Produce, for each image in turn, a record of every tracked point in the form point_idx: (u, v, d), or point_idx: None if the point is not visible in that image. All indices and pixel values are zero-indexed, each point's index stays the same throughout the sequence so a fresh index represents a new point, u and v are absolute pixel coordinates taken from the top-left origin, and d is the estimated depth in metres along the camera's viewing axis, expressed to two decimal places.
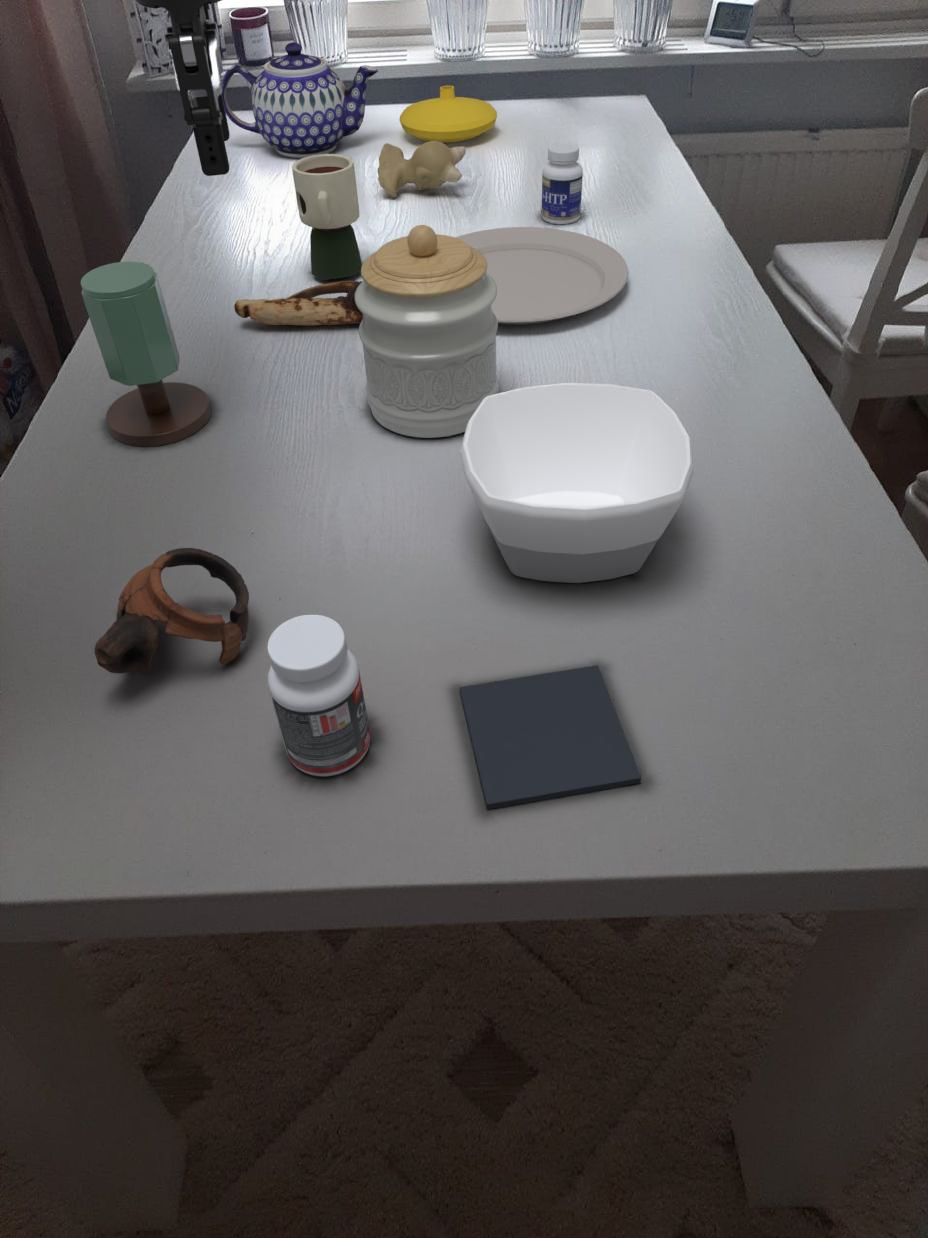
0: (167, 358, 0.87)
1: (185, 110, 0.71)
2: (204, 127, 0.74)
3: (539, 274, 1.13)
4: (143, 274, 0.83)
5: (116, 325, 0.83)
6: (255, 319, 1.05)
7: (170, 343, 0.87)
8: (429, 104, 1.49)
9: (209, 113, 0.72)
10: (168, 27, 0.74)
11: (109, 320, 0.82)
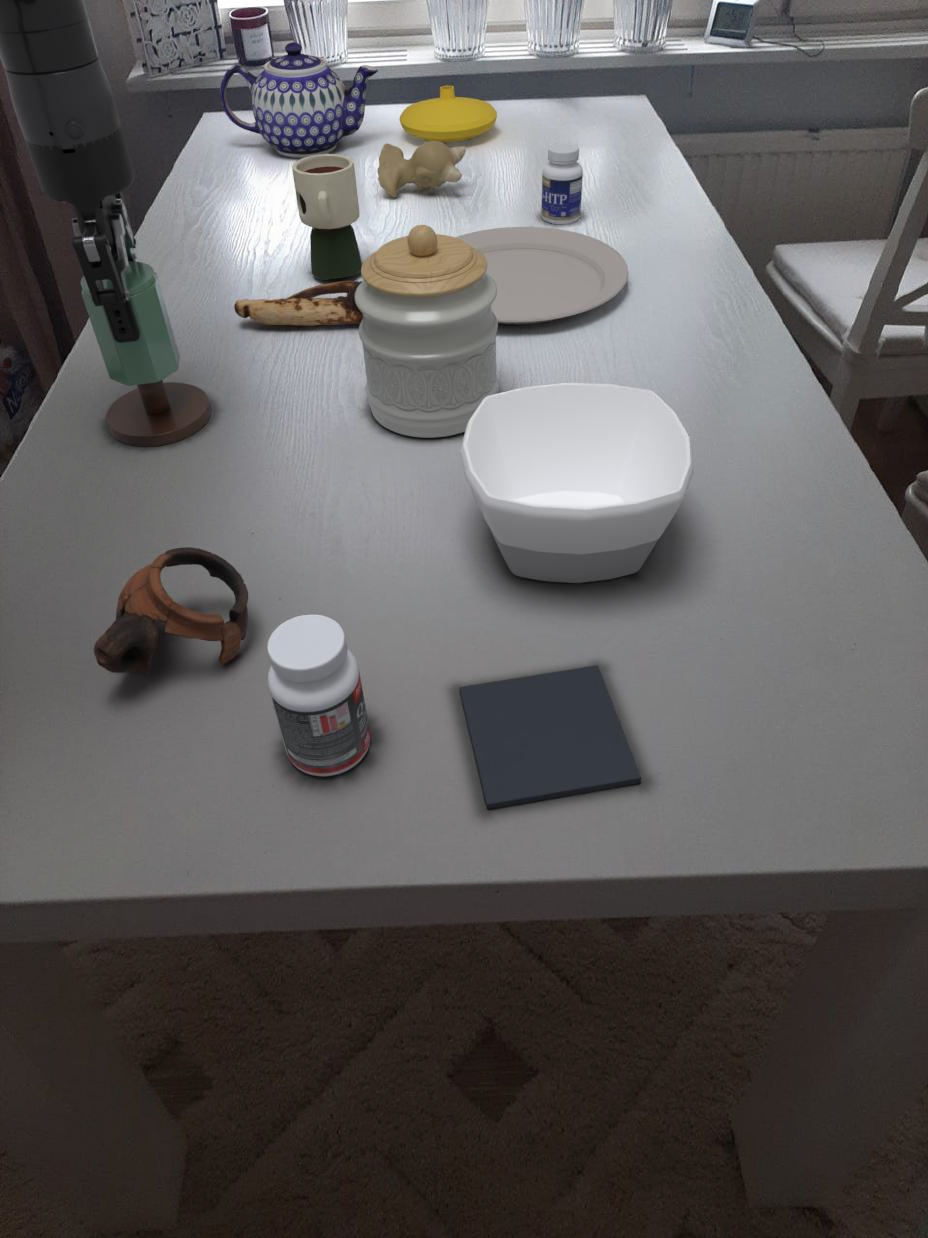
0: (167, 358, 0.87)
1: (92, 296, 0.78)
2: (112, 304, 0.80)
3: (539, 274, 1.13)
4: (143, 274, 0.83)
5: None
6: (255, 319, 1.05)
7: (170, 343, 0.87)
8: (429, 104, 1.49)
9: (115, 296, 0.78)
10: None
11: None
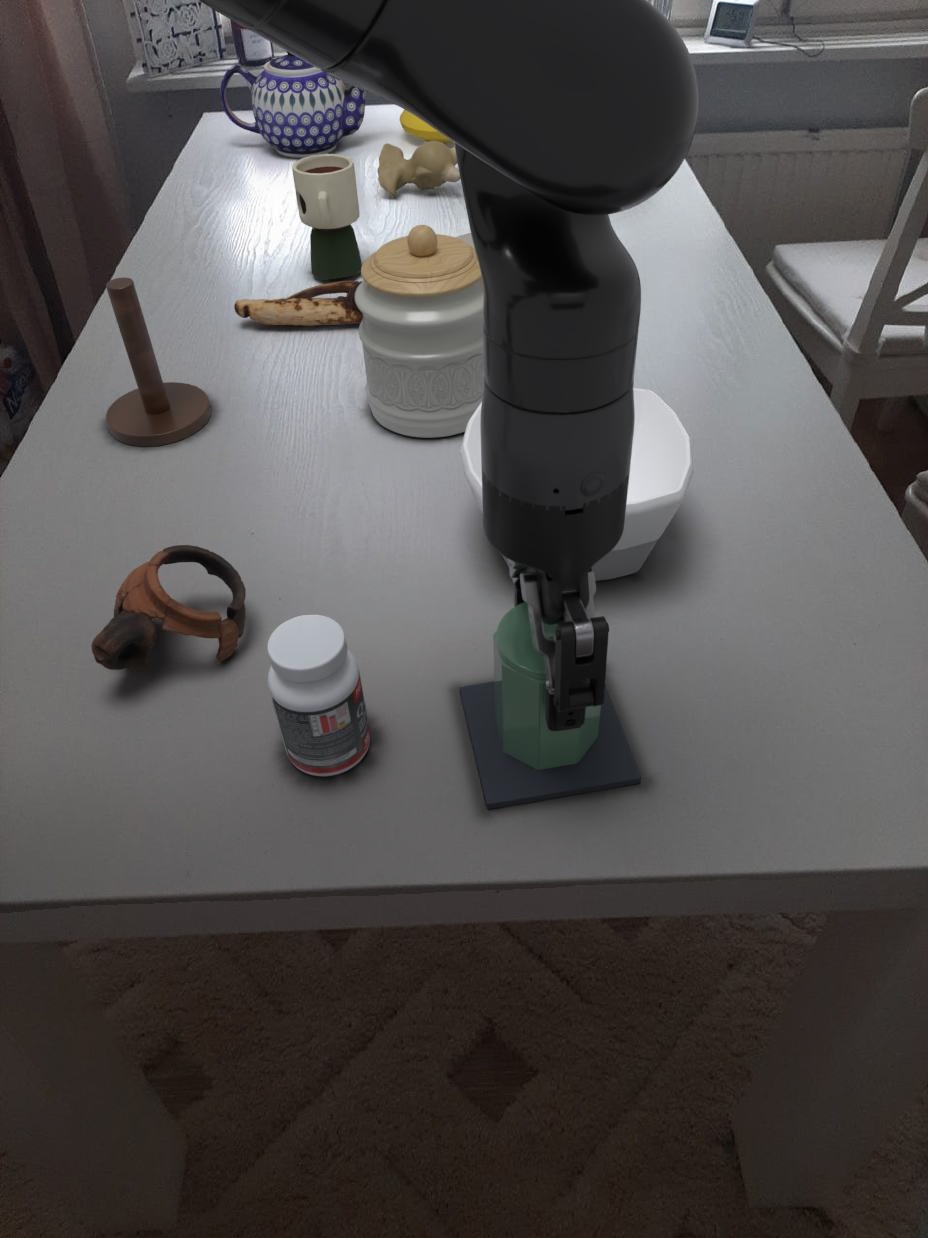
0: (593, 729, 0.60)
1: (561, 701, 0.49)
2: None
3: None
4: None
5: None
6: (255, 319, 1.05)
7: (600, 709, 0.60)
8: None
9: (592, 700, 0.50)
10: None
11: (543, 704, 0.55)
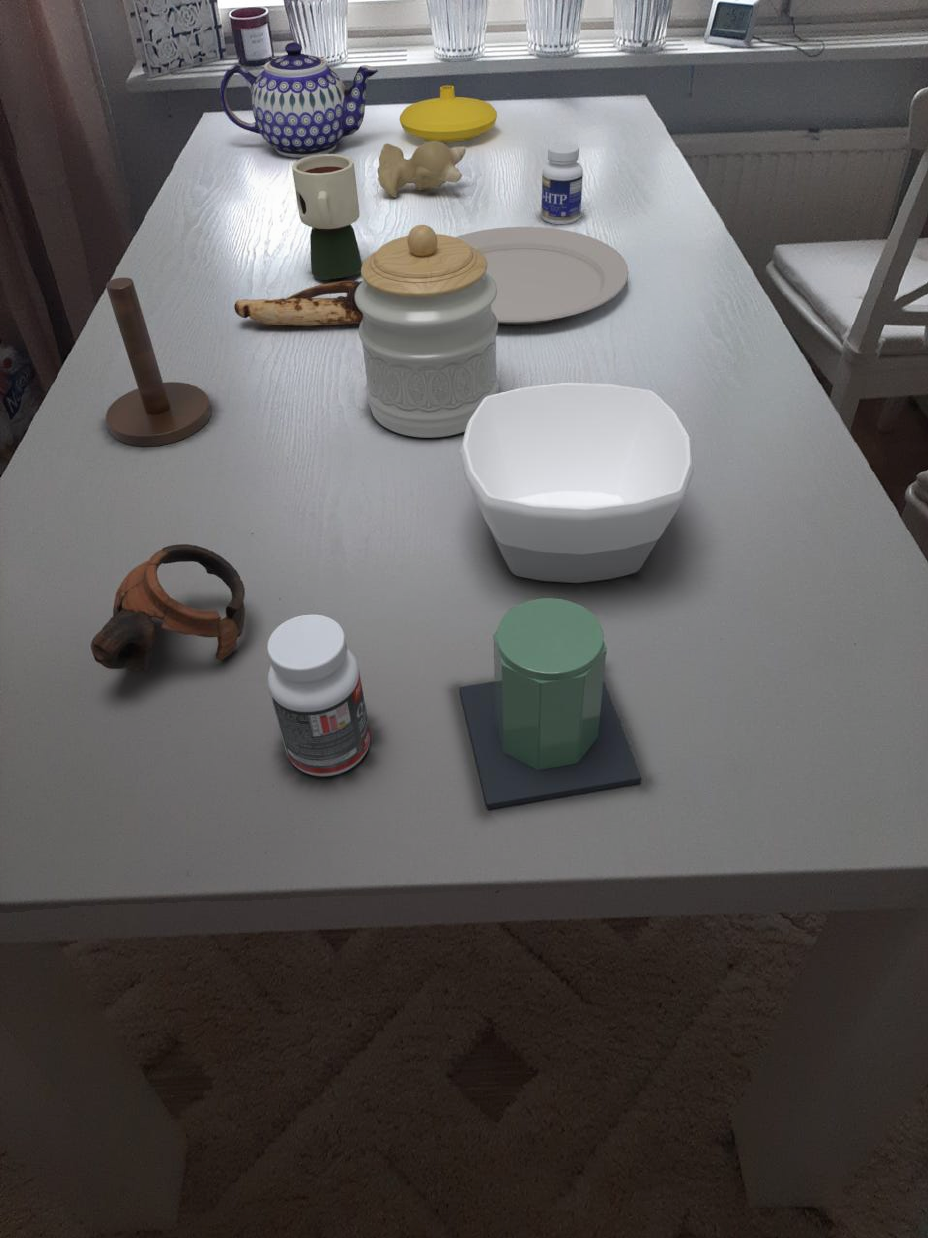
0: (593, 729, 0.60)
1: None
2: None
3: (539, 274, 1.13)
4: (589, 632, 0.56)
5: (550, 708, 0.56)
6: (255, 319, 1.05)
7: (600, 709, 0.60)
8: (429, 104, 1.49)
9: None
10: None
11: (543, 704, 0.55)
